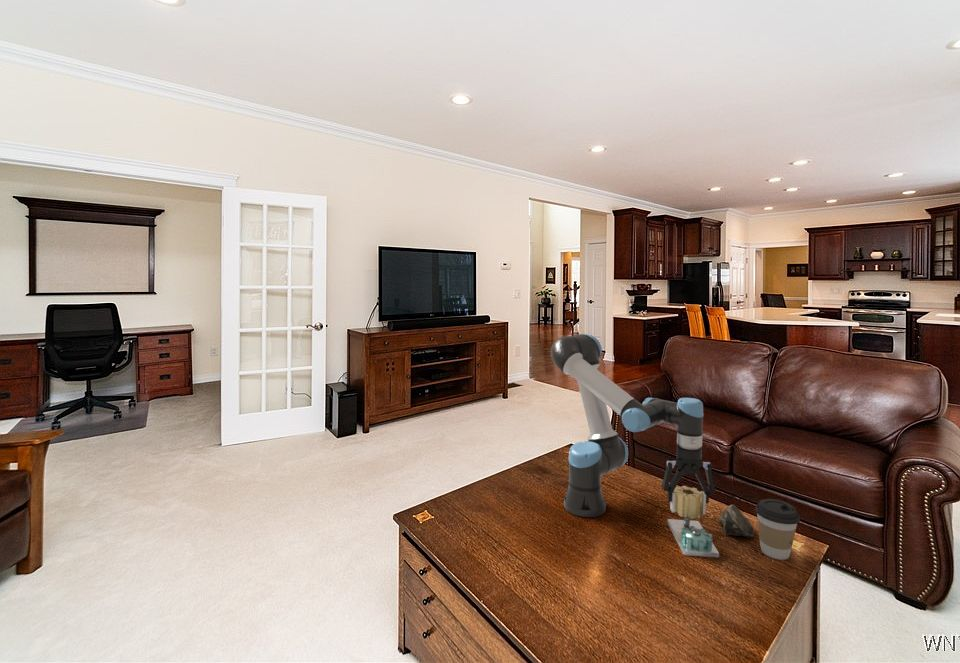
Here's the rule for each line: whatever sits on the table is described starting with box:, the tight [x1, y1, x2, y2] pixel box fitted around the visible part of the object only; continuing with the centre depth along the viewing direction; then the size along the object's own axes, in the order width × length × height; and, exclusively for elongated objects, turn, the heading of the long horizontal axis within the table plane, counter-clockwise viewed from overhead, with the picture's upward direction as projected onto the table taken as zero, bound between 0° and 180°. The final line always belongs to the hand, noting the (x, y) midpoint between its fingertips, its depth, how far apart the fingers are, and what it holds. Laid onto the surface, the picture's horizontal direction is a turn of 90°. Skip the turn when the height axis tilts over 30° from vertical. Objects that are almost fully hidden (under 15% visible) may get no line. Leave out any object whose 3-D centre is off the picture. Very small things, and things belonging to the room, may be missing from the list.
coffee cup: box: [754, 498, 801, 561], centre depth 132 cm, size 11×11×15 cm
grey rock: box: [717, 504, 755, 539], centre depth 144 cm, size 11×9×10 cm
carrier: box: [666, 516, 720, 559], centre depth 140 cm, size 10×18×6 cm, turn 171°
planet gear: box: [674, 485, 703, 520], centre depth 144 cm, size 9×9×7 cm
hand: (687, 511), depth 144 cm, fingers closed on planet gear, 9 cm apart
